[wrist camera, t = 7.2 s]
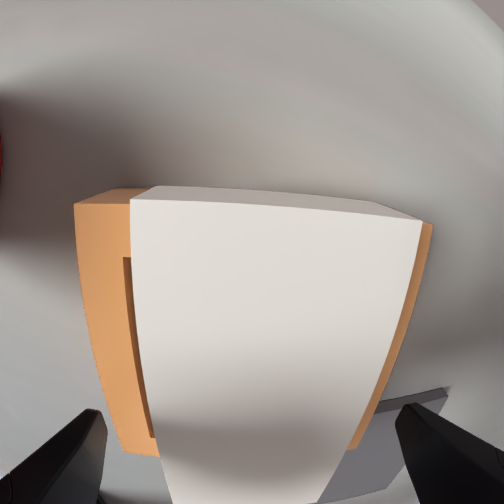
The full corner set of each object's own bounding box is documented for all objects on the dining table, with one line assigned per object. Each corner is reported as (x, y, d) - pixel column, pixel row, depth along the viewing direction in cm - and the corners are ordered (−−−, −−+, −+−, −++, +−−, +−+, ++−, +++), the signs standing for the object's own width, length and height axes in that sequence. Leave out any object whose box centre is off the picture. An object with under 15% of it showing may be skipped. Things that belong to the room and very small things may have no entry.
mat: (382, 481, 21) (386, 488, 20) (282, 500, 20) (284, 508, 19) (441, 387, 17) (448, 396, 16) (314, 410, 16) (318, 422, 15)
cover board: (305, 461, 12) (316, 502, 10) (177, 463, 11) (174, 506, 9) (373, 201, 8) (422, 220, 6) (157, 185, 8) (129, 199, 5)
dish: (333, 397, 16) (356, 448, 12) (138, 396, 15) (123, 451, 11) (379, 203, 13) (433, 224, 9) (117, 187, 11) (73, 203, 8)
